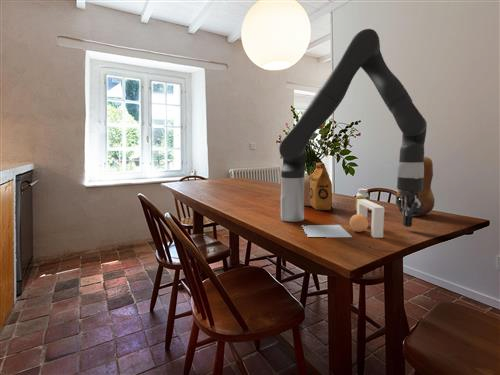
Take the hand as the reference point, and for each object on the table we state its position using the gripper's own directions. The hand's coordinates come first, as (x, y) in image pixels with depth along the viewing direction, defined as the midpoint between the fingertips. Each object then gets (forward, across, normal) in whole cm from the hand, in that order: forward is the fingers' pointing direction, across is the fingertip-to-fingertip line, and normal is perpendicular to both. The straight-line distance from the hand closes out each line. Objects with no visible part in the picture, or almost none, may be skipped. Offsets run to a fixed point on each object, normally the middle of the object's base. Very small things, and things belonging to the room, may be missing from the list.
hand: (407, 226), depth 94 cm
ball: (-2, +1, -17) cm, 17 cm away
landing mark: (+2, 0, -28) cm, 28 cm away
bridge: (+2, 0, -13) cm, 13 cm away
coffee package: (+2, -39, -21) cm, 44 cm away
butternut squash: (+2, -23, +15) cm, 28 cm away
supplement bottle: (+2, -33, -3) cm, 33 cm away
